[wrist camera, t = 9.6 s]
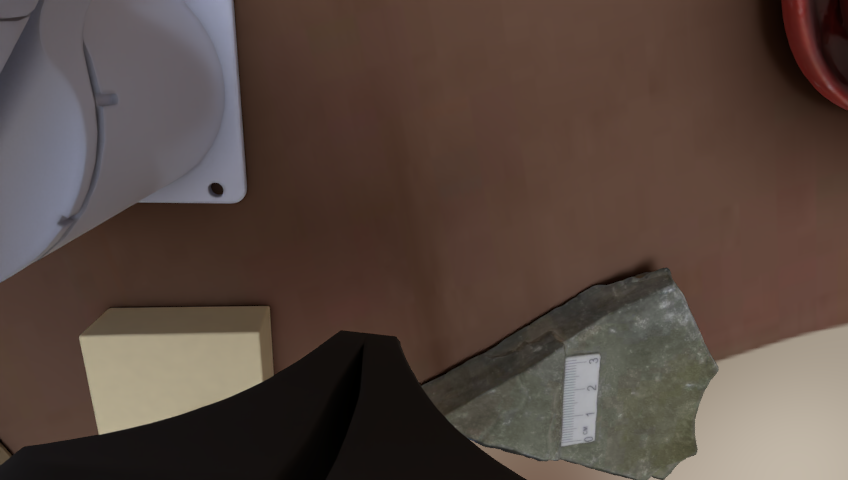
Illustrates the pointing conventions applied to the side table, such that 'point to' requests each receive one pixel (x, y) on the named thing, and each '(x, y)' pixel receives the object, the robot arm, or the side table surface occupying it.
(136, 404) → the button box
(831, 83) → the flower pot
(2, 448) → the bowl
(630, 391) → the stone
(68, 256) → the side table surface
